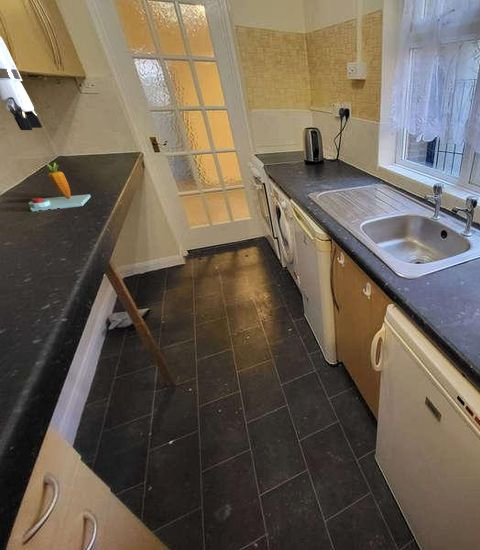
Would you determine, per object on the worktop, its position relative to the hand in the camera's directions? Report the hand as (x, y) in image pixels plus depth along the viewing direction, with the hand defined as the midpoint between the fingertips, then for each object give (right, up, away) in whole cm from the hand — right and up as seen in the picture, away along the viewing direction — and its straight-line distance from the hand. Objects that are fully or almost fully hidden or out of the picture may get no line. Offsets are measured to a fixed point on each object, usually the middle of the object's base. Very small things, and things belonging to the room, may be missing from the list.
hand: (32, 128), depth 114 cm
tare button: (-4, -27, +6) cm, 28 cm away
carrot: (0, -24, +14) cm, 28 cm away
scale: (-1, -26, +13) cm, 29 cm away
